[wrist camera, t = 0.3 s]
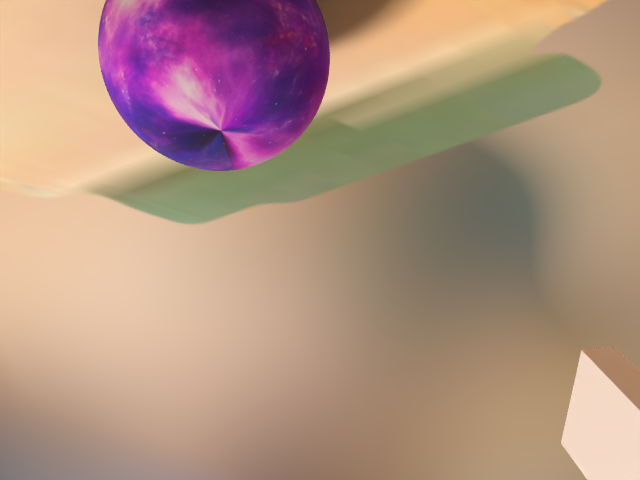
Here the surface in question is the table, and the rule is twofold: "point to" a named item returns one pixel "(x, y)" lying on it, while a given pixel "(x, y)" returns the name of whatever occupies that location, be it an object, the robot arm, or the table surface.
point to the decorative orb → (215, 75)
